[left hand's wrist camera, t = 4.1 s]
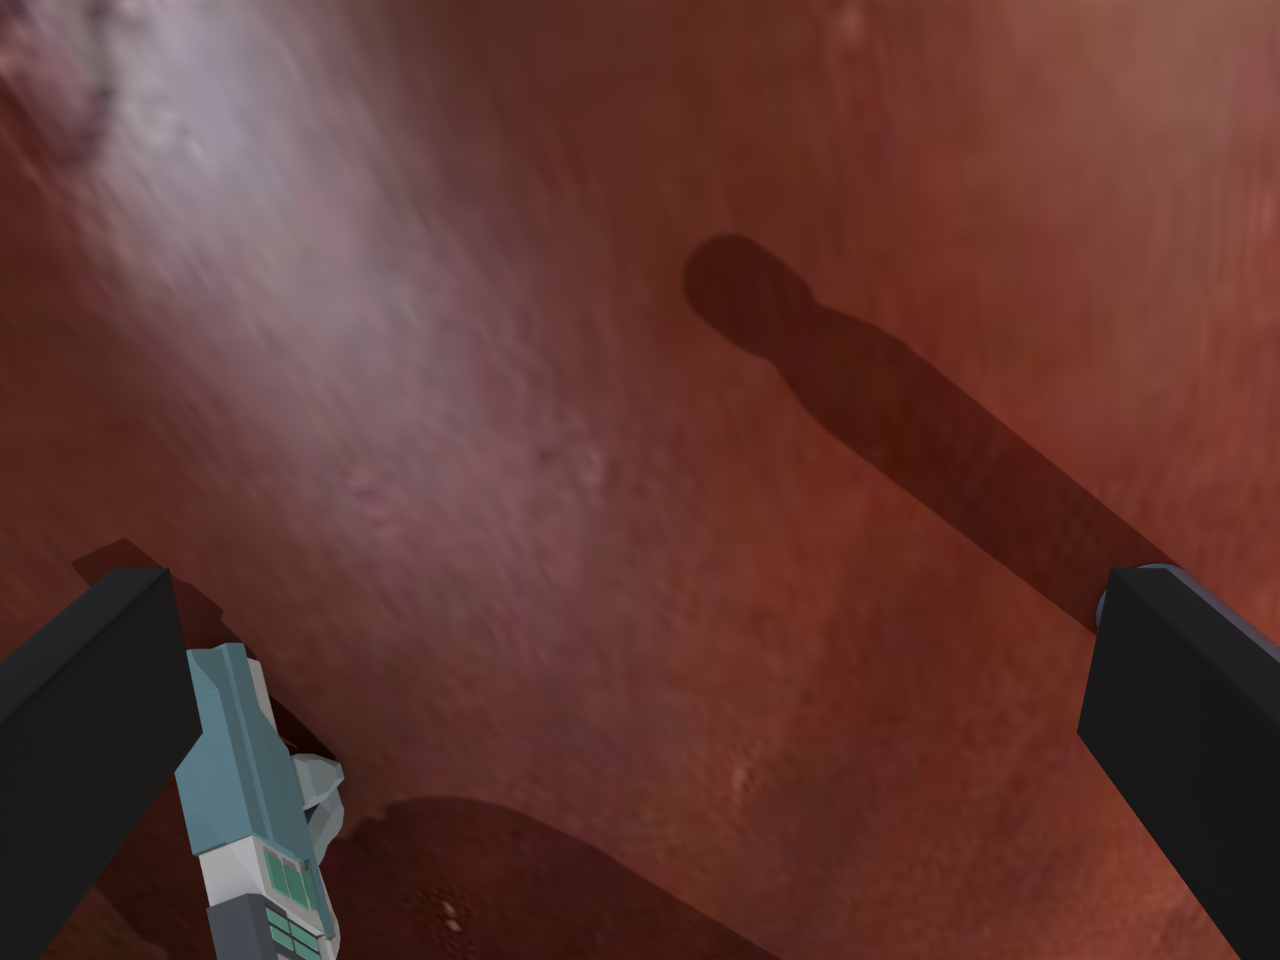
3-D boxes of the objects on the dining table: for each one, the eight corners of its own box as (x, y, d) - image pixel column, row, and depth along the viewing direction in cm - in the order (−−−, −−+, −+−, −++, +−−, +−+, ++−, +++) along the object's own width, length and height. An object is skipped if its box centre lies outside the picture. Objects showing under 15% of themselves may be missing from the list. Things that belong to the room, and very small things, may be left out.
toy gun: (357, 1029, 46) (224, 1132, 36) (265, 665, 50) (126, 671, 41) (420, 1008, 45) (303, 1106, 36) (322, 642, 50) (194, 641, 40)
